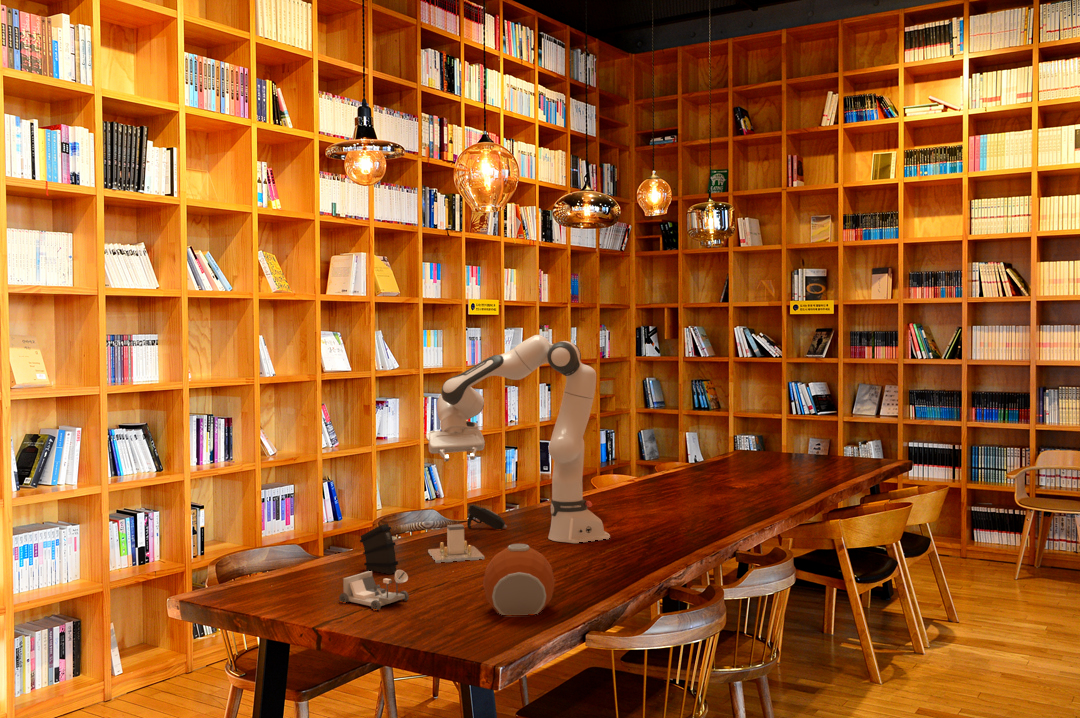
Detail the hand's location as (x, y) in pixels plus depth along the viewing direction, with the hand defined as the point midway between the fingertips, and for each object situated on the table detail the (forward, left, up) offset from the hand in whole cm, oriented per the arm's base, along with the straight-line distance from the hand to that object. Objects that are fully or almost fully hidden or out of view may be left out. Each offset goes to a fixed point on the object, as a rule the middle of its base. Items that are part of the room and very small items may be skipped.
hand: (459, 459), depth 317 cm
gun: (-15, -22, -30) cm, 40 cm away
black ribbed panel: (+32, +29, -30) cm, 53 cm away
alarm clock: (+1, +83, -30) cm, 89 cm away
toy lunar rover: (+36, +64, -31) cm, 80 cm away
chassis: (+5, +17, -30) cm, 35 cm away
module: (+5, +17, -29) cm, 34 cm away
